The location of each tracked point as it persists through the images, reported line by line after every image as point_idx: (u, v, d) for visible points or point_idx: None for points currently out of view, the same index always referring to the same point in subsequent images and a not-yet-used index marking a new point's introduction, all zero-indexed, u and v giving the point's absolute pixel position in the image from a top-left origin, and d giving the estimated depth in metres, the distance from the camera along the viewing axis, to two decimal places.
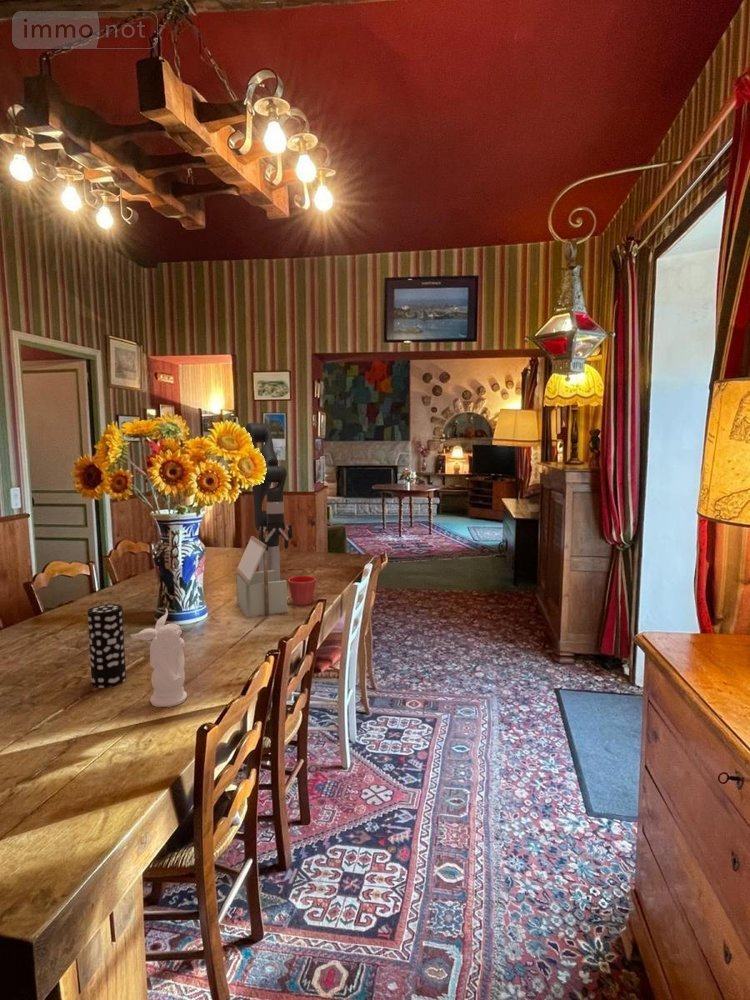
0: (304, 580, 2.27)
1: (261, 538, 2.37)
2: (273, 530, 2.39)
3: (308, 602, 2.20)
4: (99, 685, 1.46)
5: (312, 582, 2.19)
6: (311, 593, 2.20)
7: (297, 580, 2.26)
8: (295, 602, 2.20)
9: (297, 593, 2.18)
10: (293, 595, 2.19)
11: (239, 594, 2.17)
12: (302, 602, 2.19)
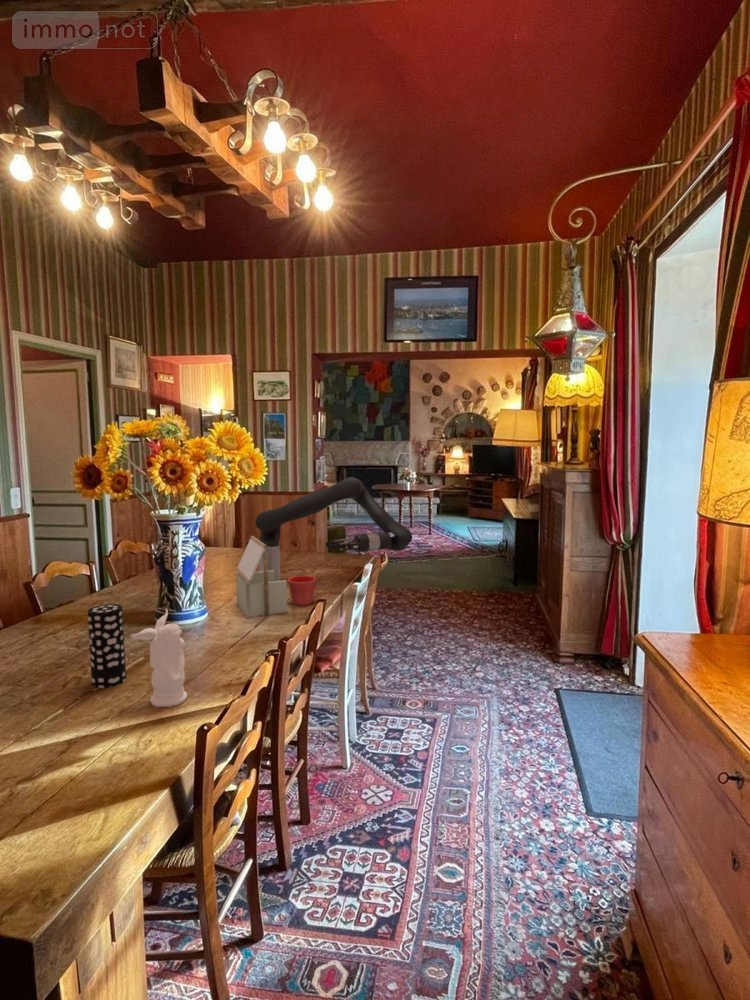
0: (304, 580, 2.27)
1: (345, 549, 2.23)
2: None
3: (308, 602, 2.20)
4: (99, 685, 1.46)
5: (312, 582, 2.19)
6: (311, 593, 2.20)
7: (297, 580, 2.26)
8: (295, 602, 2.20)
9: (297, 593, 2.18)
10: (293, 595, 2.19)
11: (239, 594, 2.17)
12: (302, 602, 2.19)
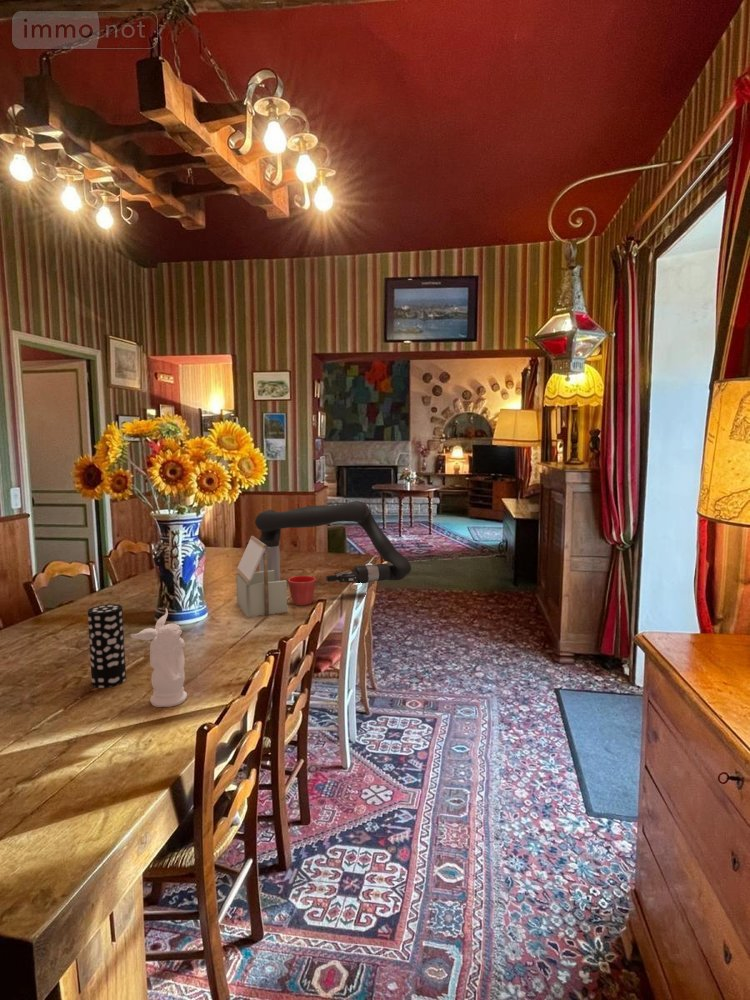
0: (304, 580, 2.27)
1: (341, 581, 2.26)
2: None
3: (308, 602, 2.20)
4: (99, 685, 1.46)
5: (312, 582, 2.19)
6: (311, 593, 2.20)
7: (297, 580, 2.26)
8: (295, 602, 2.20)
9: (297, 593, 2.18)
10: (293, 595, 2.19)
11: (239, 594, 2.17)
12: (302, 602, 2.19)
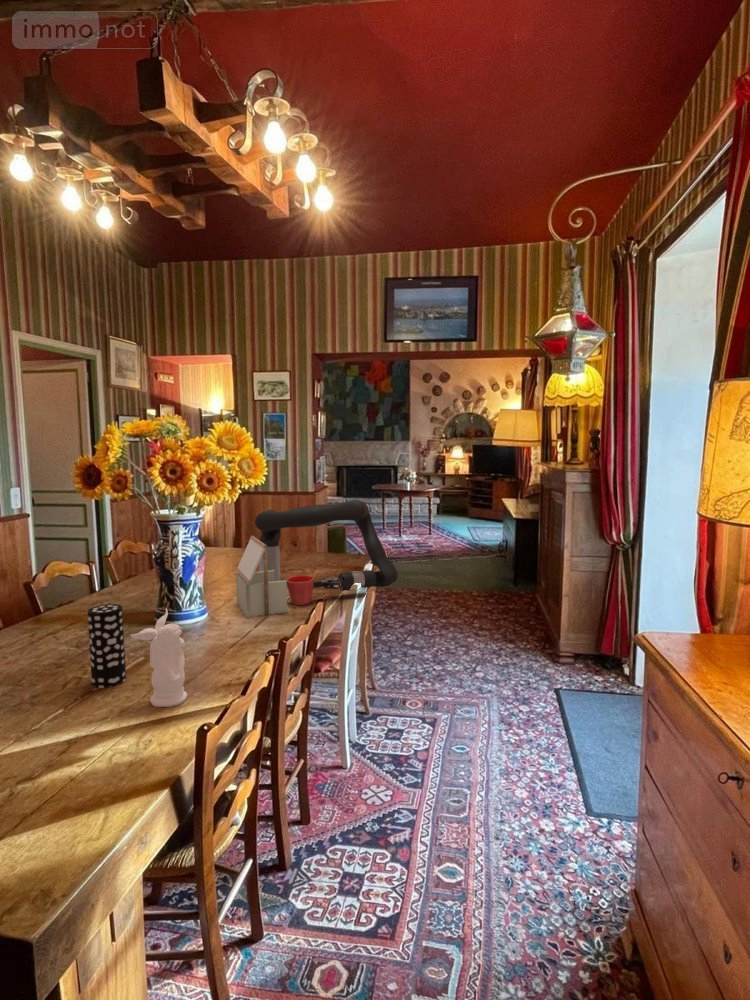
0: (303, 580, 2.27)
1: None
2: None
3: (307, 602, 2.20)
4: (99, 685, 1.46)
5: (310, 582, 2.19)
6: (310, 593, 2.20)
7: (296, 580, 2.26)
8: (294, 602, 2.20)
9: (296, 593, 2.18)
10: (292, 595, 2.19)
11: (239, 594, 2.17)
12: (301, 602, 2.19)
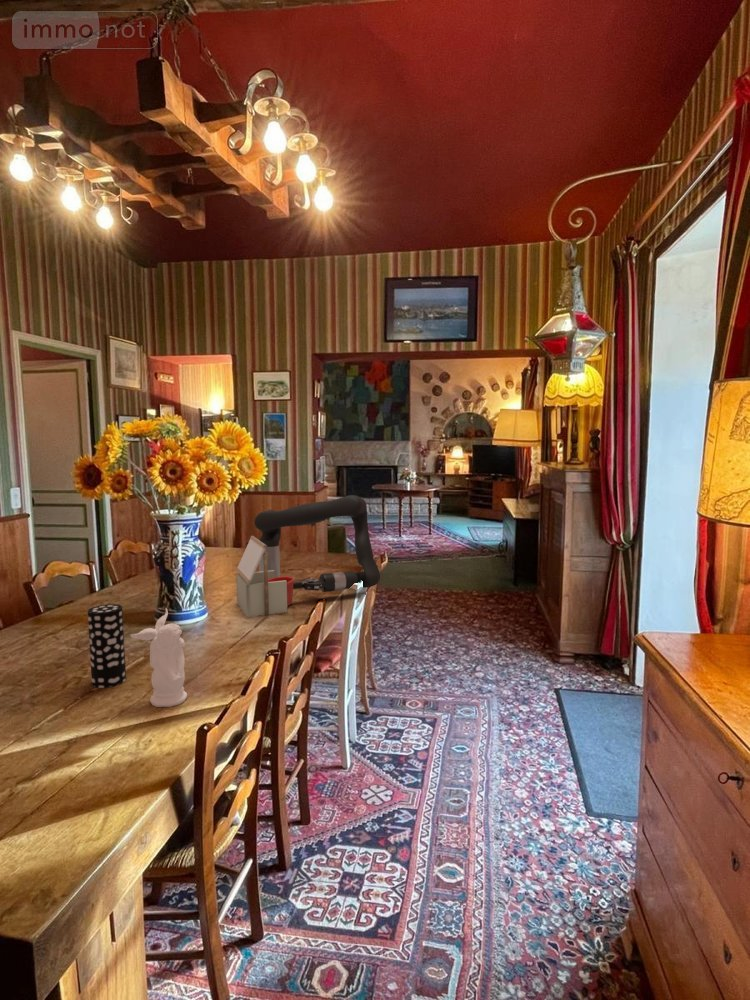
0: None
1: None
2: None
3: (287, 603, 2.17)
4: (99, 685, 1.46)
5: (289, 583, 2.16)
6: (289, 594, 2.17)
7: None
8: None
9: None
10: None
11: (239, 594, 2.17)
12: None
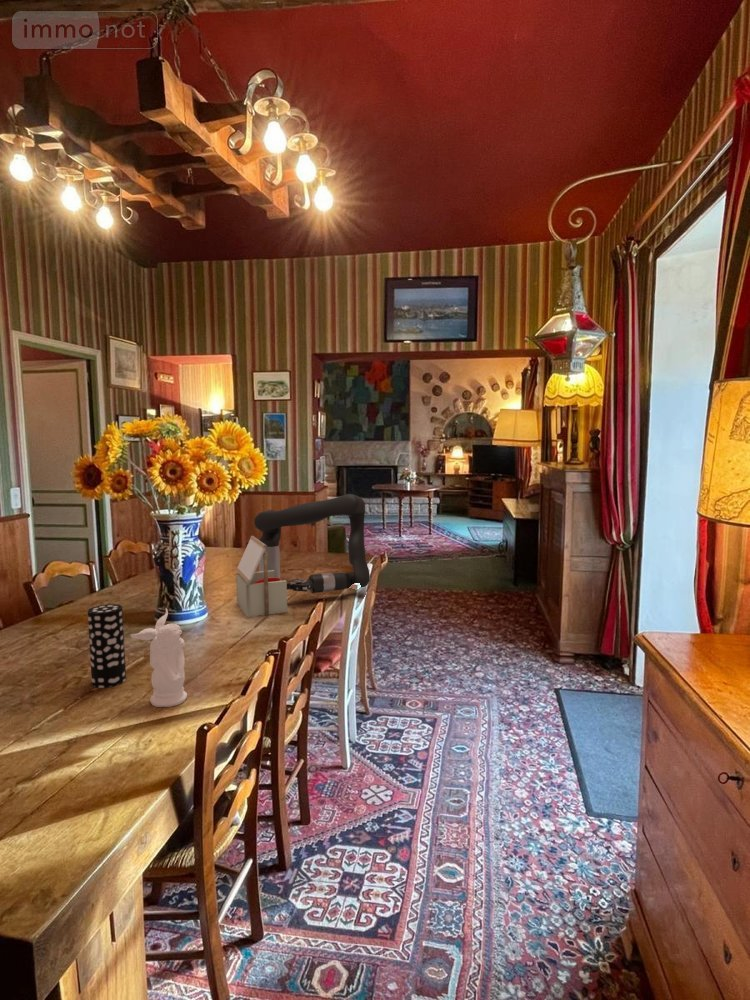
0: None
1: None
2: None
3: None
4: (99, 685, 1.46)
5: None
6: None
7: None
8: None
9: None
10: None
11: (239, 594, 2.17)
12: None
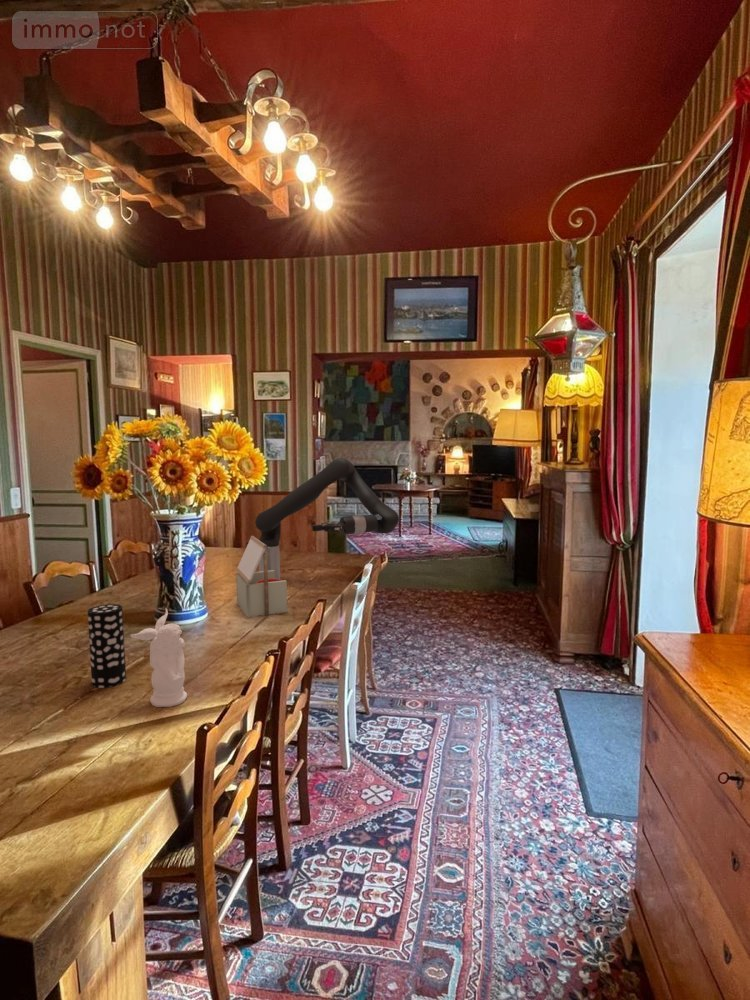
0: None
1: None
2: None
3: None
4: (99, 685, 1.46)
5: None
6: None
7: None
8: None
9: None
10: None
11: (239, 594, 2.17)
12: None
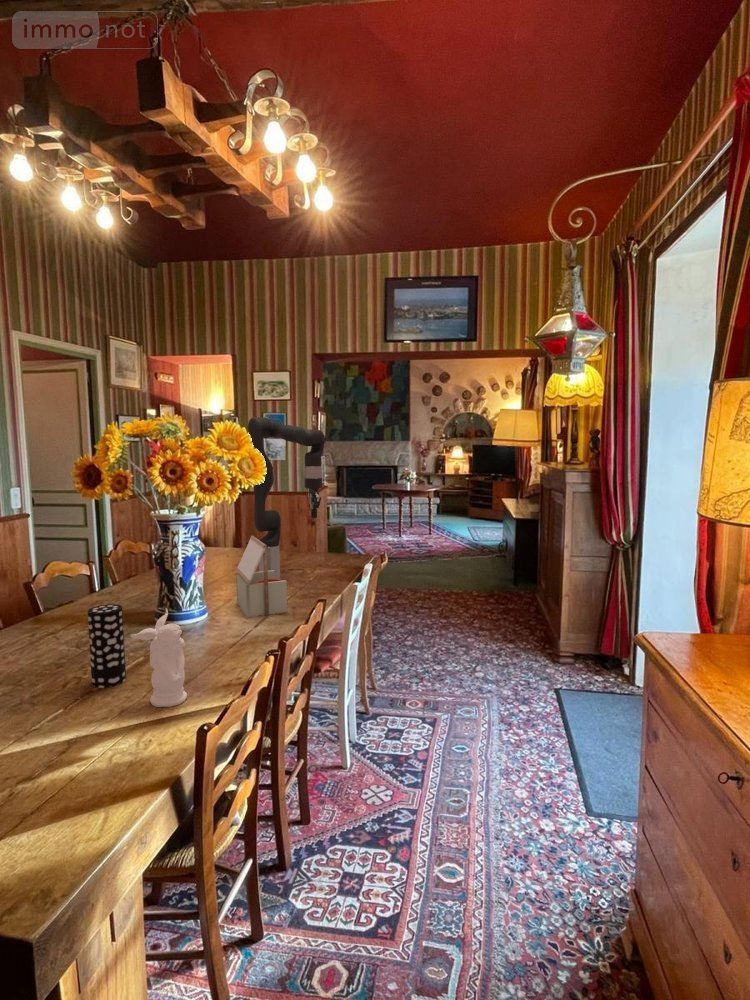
0: None
1: (318, 505, 2.34)
2: None
3: None
4: (99, 685, 1.46)
5: None
6: None
7: None
8: None
9: None
10: None
11: (239, 594, 2.17)
12: None
